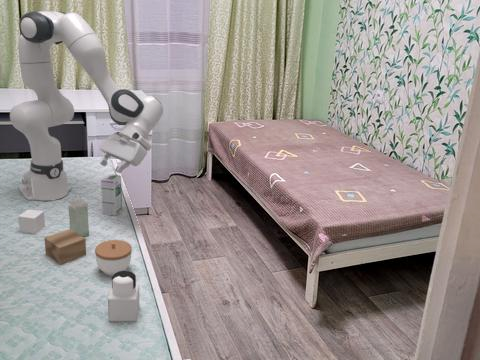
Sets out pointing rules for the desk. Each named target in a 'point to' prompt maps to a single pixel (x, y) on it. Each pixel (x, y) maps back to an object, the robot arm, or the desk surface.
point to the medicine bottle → (123, 297)
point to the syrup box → (111, 194)
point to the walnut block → (65, 246)
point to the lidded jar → (113, 256)
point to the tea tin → (79, 217)
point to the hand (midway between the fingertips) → (109, 168)
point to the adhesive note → (31, 221)
